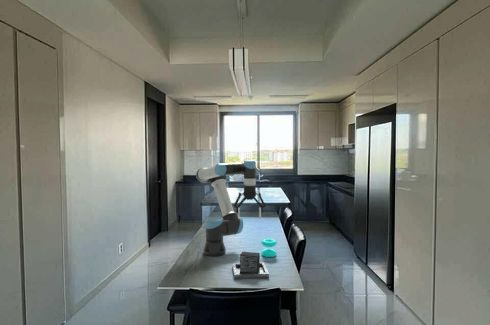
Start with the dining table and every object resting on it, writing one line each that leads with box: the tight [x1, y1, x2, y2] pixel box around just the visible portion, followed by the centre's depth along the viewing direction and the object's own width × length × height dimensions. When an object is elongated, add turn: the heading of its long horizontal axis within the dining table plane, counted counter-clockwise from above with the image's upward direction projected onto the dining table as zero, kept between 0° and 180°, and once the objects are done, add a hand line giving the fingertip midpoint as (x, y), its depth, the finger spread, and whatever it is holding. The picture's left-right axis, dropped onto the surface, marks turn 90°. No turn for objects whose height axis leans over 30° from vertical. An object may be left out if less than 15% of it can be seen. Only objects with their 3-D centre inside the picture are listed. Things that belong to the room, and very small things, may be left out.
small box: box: [239, 251, 261, 273], centre depth 185 cm, size 11×6×10 cm, turn 75°
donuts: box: [261, 238, 278, 258], centre depth 214 cm, size 10×10×10 cm
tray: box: [232, 261, 270, 280], centre depth 185 cm, size 19×17×2 cm
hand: (249, 218), depth 205 cm, fingers open, 13 cm apart
